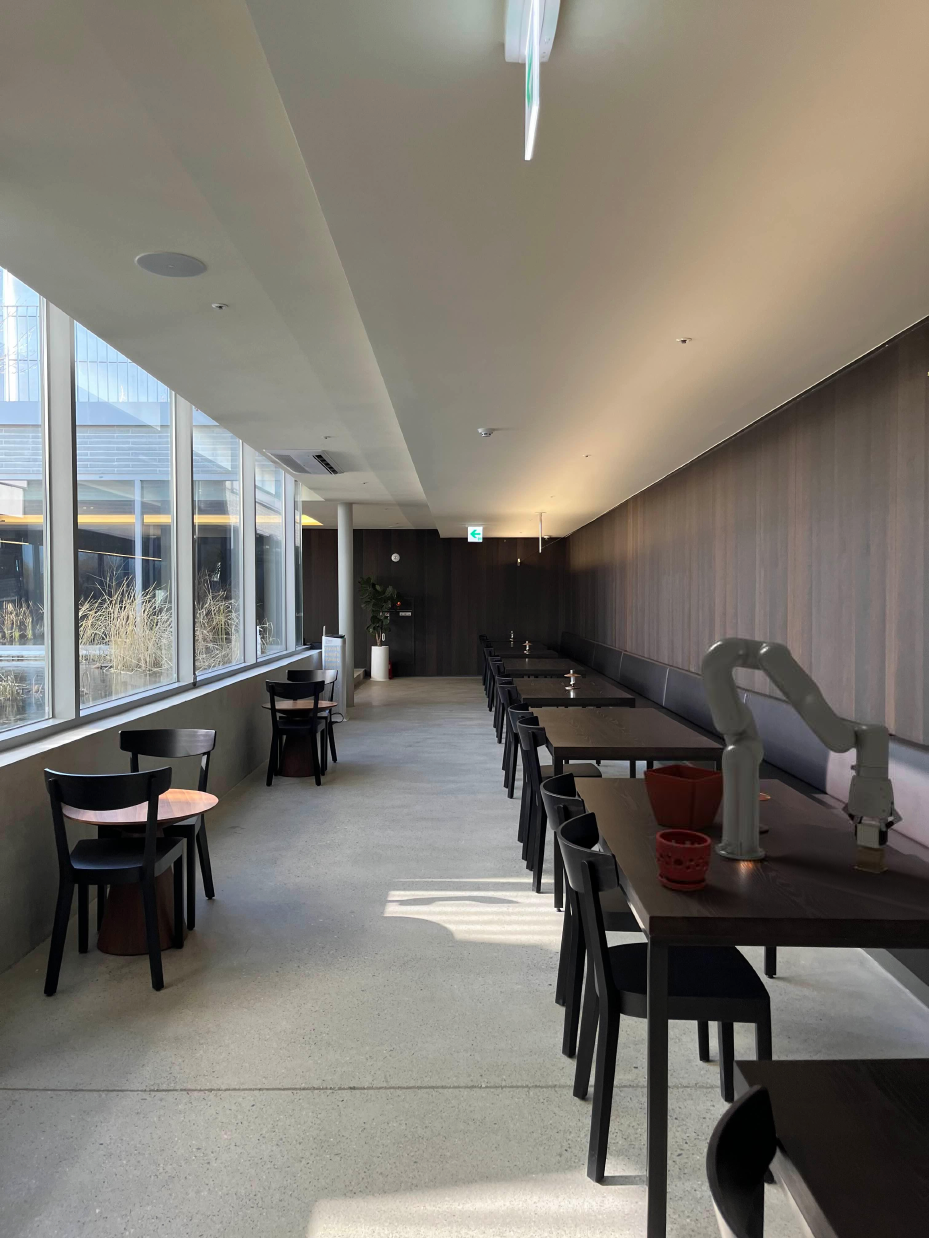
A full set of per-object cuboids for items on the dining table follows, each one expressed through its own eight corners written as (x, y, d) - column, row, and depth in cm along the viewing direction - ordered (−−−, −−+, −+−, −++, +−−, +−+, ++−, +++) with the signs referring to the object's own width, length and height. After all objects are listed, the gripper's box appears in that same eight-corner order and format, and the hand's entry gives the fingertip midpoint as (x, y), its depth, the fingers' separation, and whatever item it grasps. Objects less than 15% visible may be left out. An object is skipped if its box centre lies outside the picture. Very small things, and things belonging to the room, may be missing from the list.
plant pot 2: (644, 885, 196) (645, 835, 196) (673, 873, 205) (673, 826, 205) (693, 898, 186) (693, 847, 186) (720, 885, 196) (721, 836, 196)
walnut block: (877, 872, 204) (877, 852, 204) (856, 867, 208) (857, 848, 208) (885, 868, 207) (885, 848, 207) (865, 863, 211) (865, 844, 211)
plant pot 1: (694, 836, 240) (694, 780, 240) (641, 823, 254) (641, 770, 254) (728, 825, 253) (728, 772, 252) (675, 814, 267) (676, 763, 267)
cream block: (877, 848, 204) (877, 828, 204) (856, 843, 208) (857, 824, 208) (885, 844, 207) (885, 825, 207) (865, 840, 211) (865, 821, 211)
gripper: (832, 768, 211) (831, 837, 211) (901, 779, 199) (900, 852, 199) (845, 765, 216) (844, 833, 216) (913, 775, 203) (912, 847, 204)
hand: (871, 841), depth 207 cm, fingers closed on cream block, 4 cm apart
